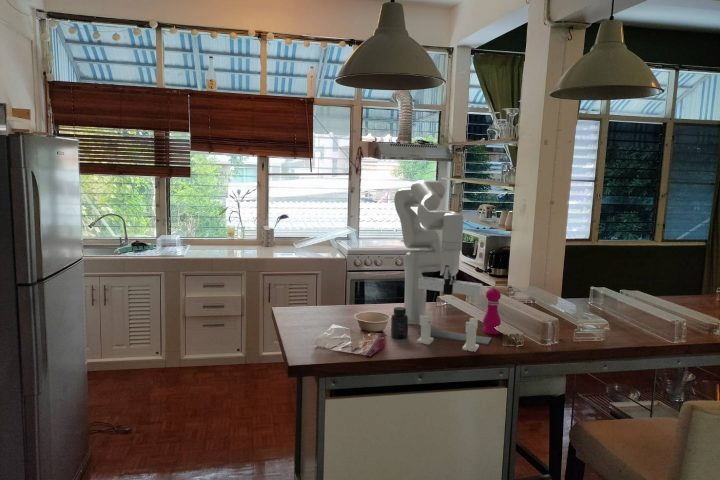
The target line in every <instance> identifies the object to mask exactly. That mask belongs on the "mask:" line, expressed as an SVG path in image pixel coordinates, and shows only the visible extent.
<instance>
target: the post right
mask: <svg viewBox="0 0 720 480" xmlns="http://www.w3.org/2000/svg"><path fill="white" fill-rule="evenodd" d="M478 320H479V319H478V318H475V317H474V318H473V317H470V318H469V321H465V334H466V342H464V345H463V346H461V347H462V349H461V350H462V351H467V350H468V352H473V351H474V352H475V353H476V352H477V351H478V349H479V348H480V344H477V343H476V336H477V329H478V325H479V324H478V323H479V321H478Z"/></svg>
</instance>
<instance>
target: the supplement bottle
mask: <svg viewBox="0 0 720 480" xmlns="http://www.w3.org/2000/svg"><path fill="white" fill-rule="evenodd" d="M405 313H406V308H404V306H397V307H394V308H393V314H392V315H391V318H390V319H391V320H390V322H391V324H390V337H391V339H394V340H399V341H401V340H402V341H403V340H406V339H408V338H409V324H408V316H407V315H406V314H405Z"/></svg>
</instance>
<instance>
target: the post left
mask: <svg viewBox="0 0 720 480" xmlns="http://www.w3.org/2000/svg"><path fill="white" fill-rule="evenodd" d="M433 315H434V314H433V312H430V311H426V312H425V316H420V325H419V326H420V332H421V335H420V337H419V338H418V339H417V340H416V343H417V344H422V343H423V344H424V345H430V344H432V343H433V342H434V340H435V337H431V336H430V332H431V329H432V323H433V317H434V316H433Z"/></svg>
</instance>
